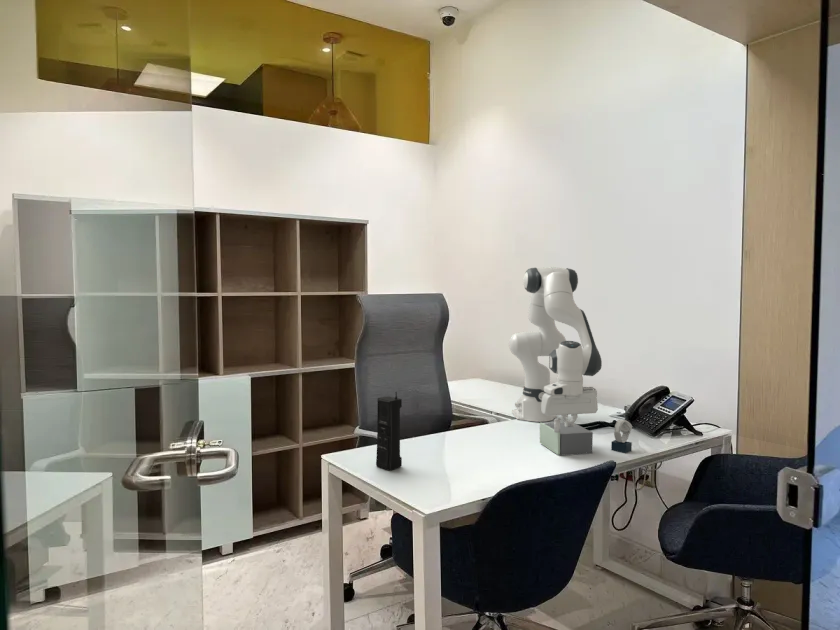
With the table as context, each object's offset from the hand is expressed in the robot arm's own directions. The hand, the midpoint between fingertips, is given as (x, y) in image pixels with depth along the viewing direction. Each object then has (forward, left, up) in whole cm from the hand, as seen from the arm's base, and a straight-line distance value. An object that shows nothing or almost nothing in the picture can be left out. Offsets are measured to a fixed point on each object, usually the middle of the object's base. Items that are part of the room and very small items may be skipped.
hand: (569, 426), depth 192 cm
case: (-6, +2, -10) cm, 12 cm away
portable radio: (+1, -65, -10) cm, 66 cm away
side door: (-6, -5, -9) cm, 12 cm away
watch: (+1, +20, -10) cm, 23 cm away
